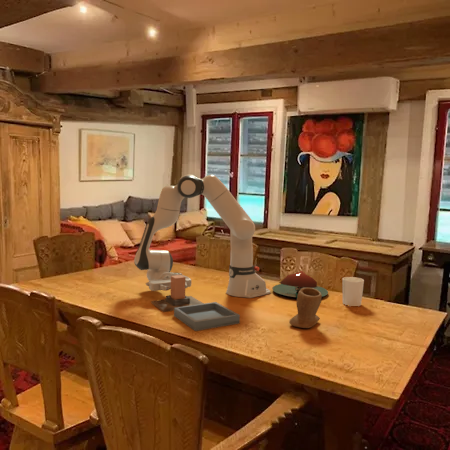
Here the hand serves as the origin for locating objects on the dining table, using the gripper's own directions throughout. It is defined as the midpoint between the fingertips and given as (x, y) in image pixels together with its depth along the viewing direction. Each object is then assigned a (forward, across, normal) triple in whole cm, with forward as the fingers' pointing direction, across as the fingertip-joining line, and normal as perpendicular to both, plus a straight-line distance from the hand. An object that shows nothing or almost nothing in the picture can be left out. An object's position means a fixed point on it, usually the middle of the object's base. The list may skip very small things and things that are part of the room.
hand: (176, 287), depth 213 cm
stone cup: (+48, +36, +8) cm, 61 cm away
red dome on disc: (+9, +64, +8) cm, 65 cm away
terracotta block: (+2, 0, +6) cm, 7 cm away
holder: (+2, 0, +7) cm, 8 cm away
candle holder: (+35, +74, +8) cm, 82 cm away
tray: (+26, +2, +8) cm, 27 cm away
